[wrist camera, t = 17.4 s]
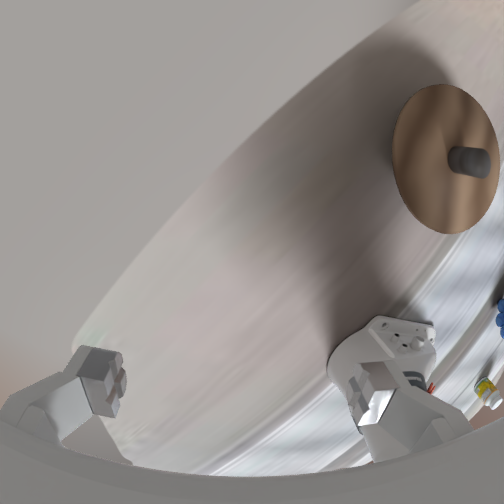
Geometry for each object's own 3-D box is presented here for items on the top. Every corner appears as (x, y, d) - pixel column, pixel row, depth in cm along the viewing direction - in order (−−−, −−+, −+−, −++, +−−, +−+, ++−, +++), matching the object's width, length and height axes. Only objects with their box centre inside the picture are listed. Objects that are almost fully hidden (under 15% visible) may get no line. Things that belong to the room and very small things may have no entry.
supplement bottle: (471, 388, 58) (488, 410, 49) (484, 374, 56) (502, 395, 47) (476, 392, 59) (492, 413, 50) (489, 378, 58) (506, 398, 49)
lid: (499, 113, 29) (526, 114, 23) (482, 239, 35) (508, 252, 29) (397, 64, 27) (424, 53, 21) (380, 222, 33) (404, 236, 28)
